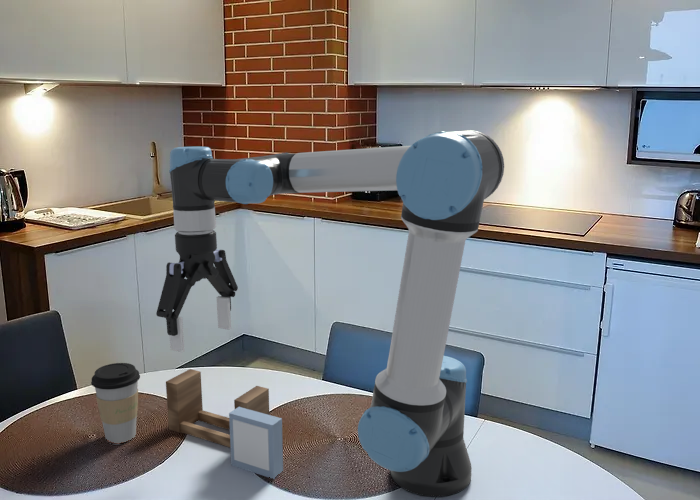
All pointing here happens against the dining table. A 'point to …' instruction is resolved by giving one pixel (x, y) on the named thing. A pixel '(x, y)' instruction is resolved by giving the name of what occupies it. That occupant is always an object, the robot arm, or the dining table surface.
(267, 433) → the door panel
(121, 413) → the coffee cup
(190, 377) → the track
